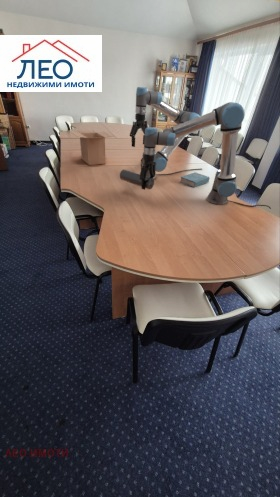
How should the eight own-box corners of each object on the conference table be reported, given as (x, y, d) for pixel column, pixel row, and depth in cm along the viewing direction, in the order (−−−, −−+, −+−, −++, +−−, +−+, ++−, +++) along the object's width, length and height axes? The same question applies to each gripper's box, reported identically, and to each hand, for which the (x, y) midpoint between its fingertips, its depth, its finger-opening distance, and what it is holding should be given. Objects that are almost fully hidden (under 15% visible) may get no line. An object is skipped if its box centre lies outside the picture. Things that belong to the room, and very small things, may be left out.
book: (194, 177, 213) (195, 172, 210) (208, 182, 204) (209, 177, 201) (179, 182, 200) (180, 176, 197) (194, 187, 191) (195, 182, 188)
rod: (119, 181, 169) (119, 170, 164) (126, 178, 174) (126, 168, 169) (147, 190, 156) (147, 179, 151) (153, 187, 161) (154, 177, 156)
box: (116, 165, 229) (116, 136, 213) (83, 168, 214) (80, 137, 198) (102, 154, 259) (101, 128, 243) (71, 156, 244) (68, 129, 228)
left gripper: (133, 114, 148) (132, 148, 161) (155, 113, 165) (152, 144, 177) (125, 113, 152) (124, 146, 165) (147, 112, 168) (145, 142, 181)
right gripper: (144, 157, 137) (142, 192, 151) (162, 152, 151) (159, 185, 164) (134, 155, 141) (133, 189, 155) (153, 150, 154) (151, 182, 168)
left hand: (138, 145), depth 171 cm, fingers open, 13 cm apart
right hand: (147, 187), depth 159 cm, fingers closed on rod, 8 cm apart
